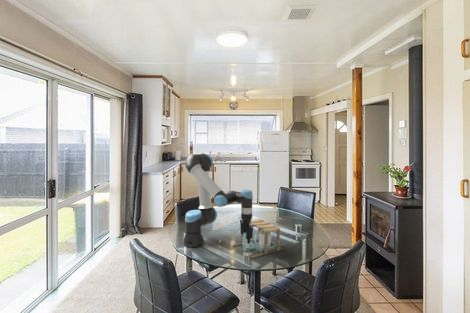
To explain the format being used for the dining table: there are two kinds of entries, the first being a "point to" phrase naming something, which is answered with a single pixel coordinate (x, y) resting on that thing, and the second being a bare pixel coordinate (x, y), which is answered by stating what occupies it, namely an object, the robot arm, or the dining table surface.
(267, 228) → the wooden slat rack
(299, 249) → the dining table surface
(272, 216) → the dining table surface
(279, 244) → the pit
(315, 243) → the dining table surface
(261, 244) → the cup
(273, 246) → the sled
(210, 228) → the dining table surface
